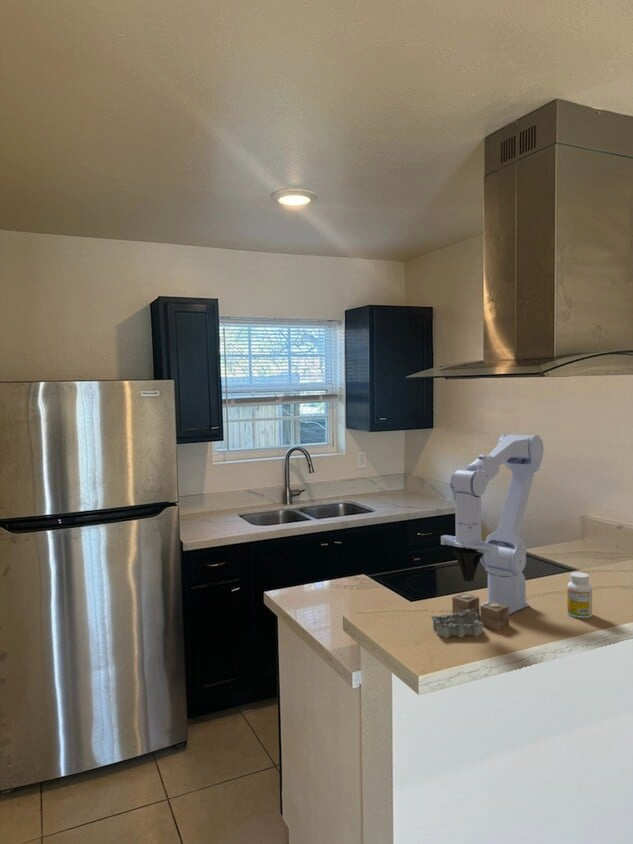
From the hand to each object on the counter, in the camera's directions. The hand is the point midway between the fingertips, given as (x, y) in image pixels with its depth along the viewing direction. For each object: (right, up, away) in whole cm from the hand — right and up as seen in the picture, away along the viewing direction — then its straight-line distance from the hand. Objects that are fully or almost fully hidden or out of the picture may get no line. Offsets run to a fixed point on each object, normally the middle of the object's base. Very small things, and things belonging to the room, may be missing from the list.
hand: (468, 580), depth 136 cm
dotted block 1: (+1, -10, +6) cm, 12 cm away
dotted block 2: (+6, -10, 0) cm, 12 cm away
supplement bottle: (+28, -10, +5) cm, 30 cm away
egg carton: (-3, -11, -3) cm, 12 cm away
